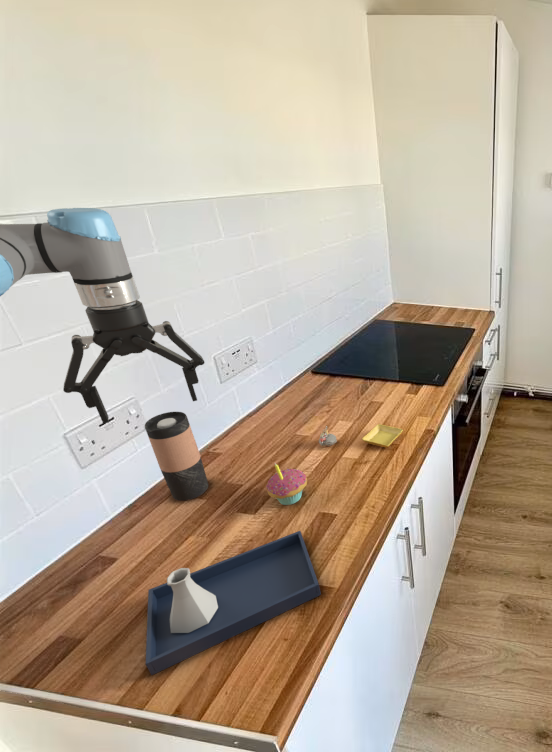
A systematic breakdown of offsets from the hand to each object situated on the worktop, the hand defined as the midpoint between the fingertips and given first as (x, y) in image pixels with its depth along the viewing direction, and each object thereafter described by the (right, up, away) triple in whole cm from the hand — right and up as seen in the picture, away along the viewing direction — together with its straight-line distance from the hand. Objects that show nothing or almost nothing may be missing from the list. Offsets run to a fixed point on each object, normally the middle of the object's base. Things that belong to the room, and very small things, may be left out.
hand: (152, 408), depth 84 cm
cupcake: (+17, -23, +19) cm, 35 cm away
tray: (+19, -35, -4) cm, 40 cm away
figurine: (+18, -14, +38) cm, 45 cm away
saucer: (+33, -13, +42) cm, 55 cm away
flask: (+14, -36, -8) cm, 39 cm away
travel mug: (-7, -22, +20) cm, 30 cm away
